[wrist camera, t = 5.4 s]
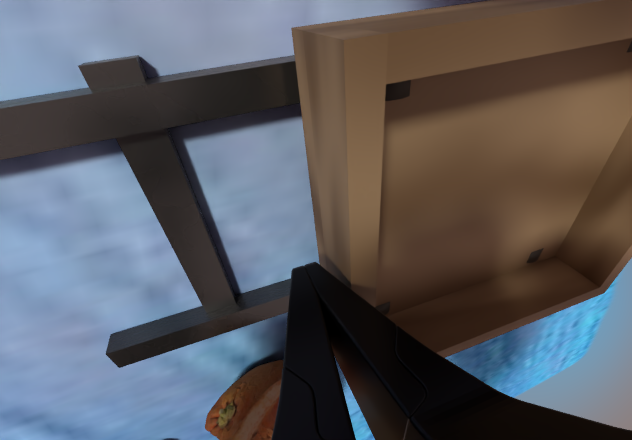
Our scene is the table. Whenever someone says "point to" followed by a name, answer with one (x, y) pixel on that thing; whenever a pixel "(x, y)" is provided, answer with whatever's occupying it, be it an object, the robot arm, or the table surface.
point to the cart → (471, 160)
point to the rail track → (161, 173)
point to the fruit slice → (248, 405)
